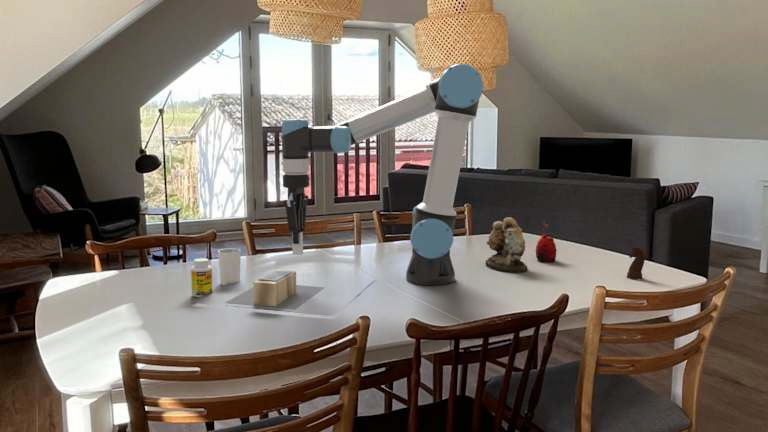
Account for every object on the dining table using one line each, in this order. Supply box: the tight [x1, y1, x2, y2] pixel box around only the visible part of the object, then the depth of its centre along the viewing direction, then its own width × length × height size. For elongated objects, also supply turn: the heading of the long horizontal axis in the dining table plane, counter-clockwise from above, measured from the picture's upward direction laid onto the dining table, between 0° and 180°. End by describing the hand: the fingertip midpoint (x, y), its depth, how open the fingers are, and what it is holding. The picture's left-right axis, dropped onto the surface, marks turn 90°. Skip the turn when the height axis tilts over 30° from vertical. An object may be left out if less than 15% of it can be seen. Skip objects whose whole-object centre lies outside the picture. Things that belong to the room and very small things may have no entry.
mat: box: [224, 284, 326, 313], centre depth 176 cm, size 20×22×1 cm
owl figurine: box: [485, 216, 528, 274], centre depth 213 cm, size 18×12×17 cm, turn 28°
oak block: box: [253, 269, 297, 306], centre depth 172 cm, size 6×6×14 cm
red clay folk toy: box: [535, 220, 558, 263], centre depth 223 cm, size 8×7×15 cm
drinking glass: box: [217, 248, 242, 286], centre depth 190 cm, size 7×7×10 cm
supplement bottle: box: [190, 257, 213, 298], centre depth 177 cm, size 6×6×10 cm
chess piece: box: [626, 246, 646, 280], centre depth 200 cm, size 5×5×10 cm
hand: (297, 254), depth 185 cm, fingers closed
